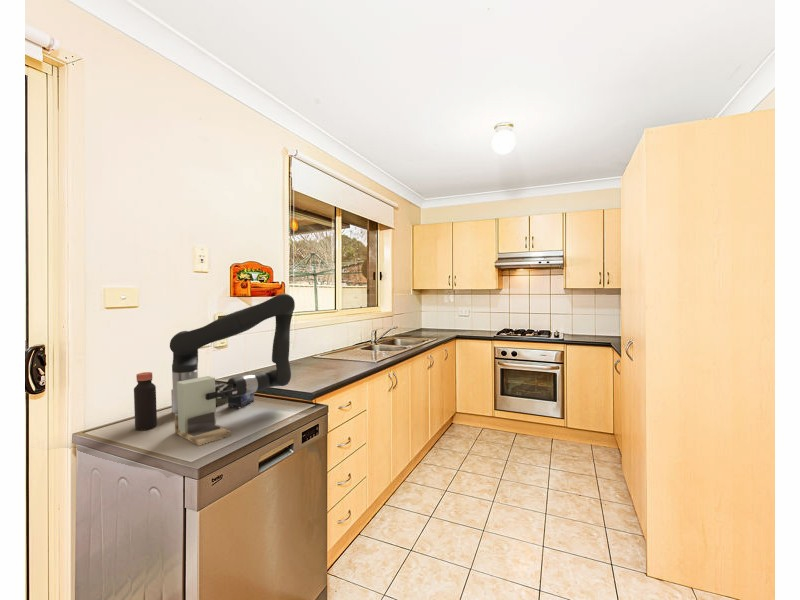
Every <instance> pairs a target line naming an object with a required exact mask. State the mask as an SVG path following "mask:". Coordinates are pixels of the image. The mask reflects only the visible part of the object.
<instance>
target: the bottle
mask: <svg viewBox="0 0 800 600" xmlns="http://www.w3.org/2000/svg"><path fill="white" fill-rule="evenodd" d="M152 381H153V372H149V371H148V372H147V371H146V372H144V371H143V372H140V373H136V383H137V384H136V386H134V388H133V400H134V401H133V404H134V405H133V407H134V409H133V410H134V428H135V431H147V429H148V430H151V429H154V428H156V427H157V425H158V419H157V417H158V416H157V414H158V413H157V411H158V410H157V386H156V385H155V383H153V382H152Z"/></svg>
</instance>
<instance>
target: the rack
mask: <svg viewBox="0 0 800 600" xmlns="http://www.w3.org/2000/svg"><path fill="white" fill-rule="evenodd" d="M174 433H175V434H177V435H178V434H179V435H178V436H180V437H182V438H184V439H185V440H187V439H188V441H189V440H190V442H191V443H193V444H195V445H196V444H197V446H202V444H203V445H206V444H208V442H209V443H211V441H212V442H215V441H217V440H221V439H224V438H223V437H225V438H227V437H226V436H228V437H230V436H229V435H231V436H232V431H231V430H229V429H227V428H225V427H223V426H220V425H218V424H217V423H216V424H215V412H212V413H208V414H204V415H200V416H196V417H193V418H189V419H188V432H186V433H184V432H182V431H180V430H178V414H176V415H175V414H174ZM214 440H215V441H214ZM205 443H206V444H205Z"/></svg>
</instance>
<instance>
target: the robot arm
mask: <svg viewBox="0 0 800 600" xmlns="http://www.w3.org/2000/svg"><path fill="white" fill-rule="evenodd" d="M295 308H296V303H295V299H294V297H293V296H292V295H290V294H288V293H280V294H277V295H275V296H273V297H271V298H269V299H267V300H265V301H262V302H260V303H259V304H256V305H252V306H247V307H245V308H243V309H240V310H237V311H234V312H231V313H229V314H226V315H224V316H222V317H221V316H220V318H217V319H215V320H213V321H212V322H210V323H208V324H206V325H204V326H201V327H199V328H195V329H191V330H182V331H180V332H177V333H176V334H175V335H173V336H172V337H171V339H170V342H169V349H170V350H171V352H172V364H171V368H172V369H171V377H172V378H171V379H172V380H171V381H172V388H171V391H170V392H171V394H170V395H171V396H170V397H171V413H173V415H174V416H175V415H176V414H178V400H177V382H179V381H185V380H190V379H195V378H199V374H198V372H199V371H198V370H199V368H198V366H199V365H198V363H199V349H201V348H203V347H205V346H206V345H210V344H212V343H214V342H215V343H216V342H218V341H222V340H225V339H227V338H228V339H229V338H231V337H234V336H237V335H239V334H242V333H244V332H246V331H247V332H248V331H249V330H250V329H252V328H254V327H256V326H257V325H260V323H262V322H264V321H266V320H268V319H272V318H274V317H275V329H274V334H273V335H274V337H273V342H272V349H271V350H272V353H271V362H272V363H273V364H275V368H276V369H271V370H268V371H267V370H266V371H264V372H259V373H254V374H253V373H252V374H246V375H241V376H235V377H231V378H229V379H228V380H227V382H226V383H221V382H218V383H217V382H216V383H215V392H212V393H207V394H206V400H210V399H214V398H221V399H225V398H228V397H232V398H235V397H239V396H243V395H247V394H251V393H253V392H254V393H256V392H261V391H263V390H267V389H268V388H273V387H284V386H285V387H286V386H287V385H288V384H289V383H290V381H291V379H292V371H291V364H290V359H289V358H290V343H291V342H290V333H291V331H290V330H291V323H292V317H293V314H294V311H295ZM225 384H226V385H225Z"/></svg>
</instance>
